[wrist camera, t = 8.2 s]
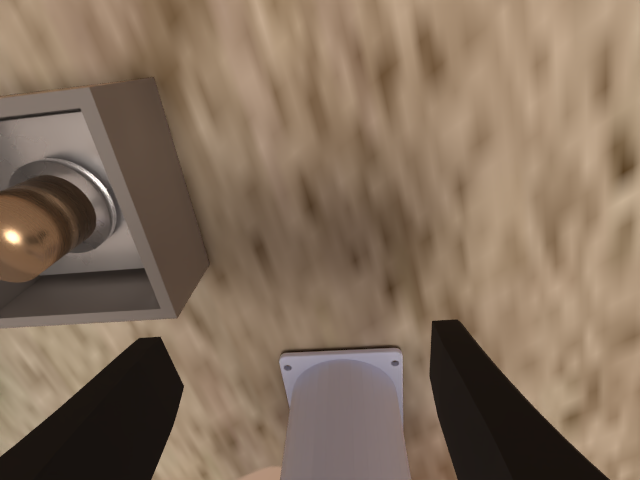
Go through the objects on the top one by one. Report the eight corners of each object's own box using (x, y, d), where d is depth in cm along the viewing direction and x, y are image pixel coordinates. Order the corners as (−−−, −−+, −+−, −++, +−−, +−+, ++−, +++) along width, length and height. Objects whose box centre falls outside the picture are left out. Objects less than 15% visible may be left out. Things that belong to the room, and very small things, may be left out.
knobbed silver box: (211, 261, 21) (177, 318, 17) (30, 274, 22) (-47, 331, 18) (156, 76, 16) (89, 87, 12) (-69, 104, 18) (-206, 123, 13)
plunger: (179, 260, 19) (133, 321, 15) (44, 270, 20) (-37, 330, 16) (126, 105, 16) (45, 127, 11) (-38, 124, 17) (-171, 151, 12)
